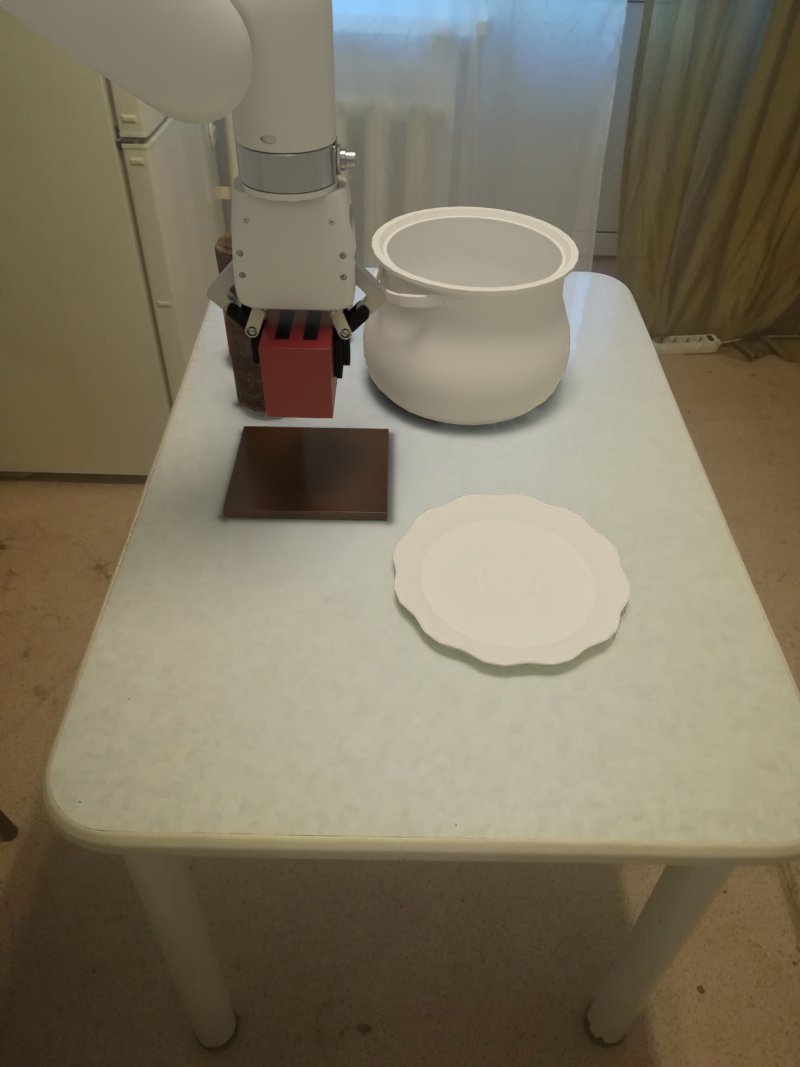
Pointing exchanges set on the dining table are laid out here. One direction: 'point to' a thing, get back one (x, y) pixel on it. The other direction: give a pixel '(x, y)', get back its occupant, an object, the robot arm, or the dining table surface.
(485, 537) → the plate
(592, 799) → the dining table surface
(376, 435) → the board
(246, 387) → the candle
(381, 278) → the pot
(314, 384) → the toaster
